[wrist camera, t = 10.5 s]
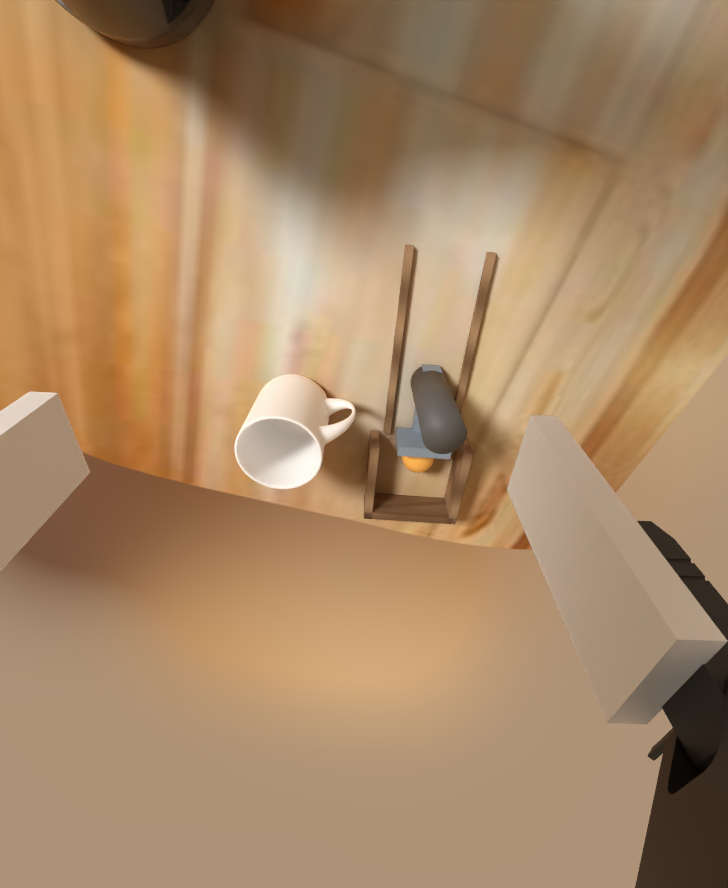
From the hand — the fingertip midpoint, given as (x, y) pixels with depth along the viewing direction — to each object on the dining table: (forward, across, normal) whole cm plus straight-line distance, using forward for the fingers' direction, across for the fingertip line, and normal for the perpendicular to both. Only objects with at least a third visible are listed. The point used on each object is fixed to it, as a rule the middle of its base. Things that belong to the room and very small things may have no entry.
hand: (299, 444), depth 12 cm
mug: (+34, -4, -17) cm, 38 cm away
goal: (+33, +9, -26) cm, 43 cm away
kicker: (+33, +10, -16) cm, 38 cm away
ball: (+31, +9, -22) cm, 40 cm away
